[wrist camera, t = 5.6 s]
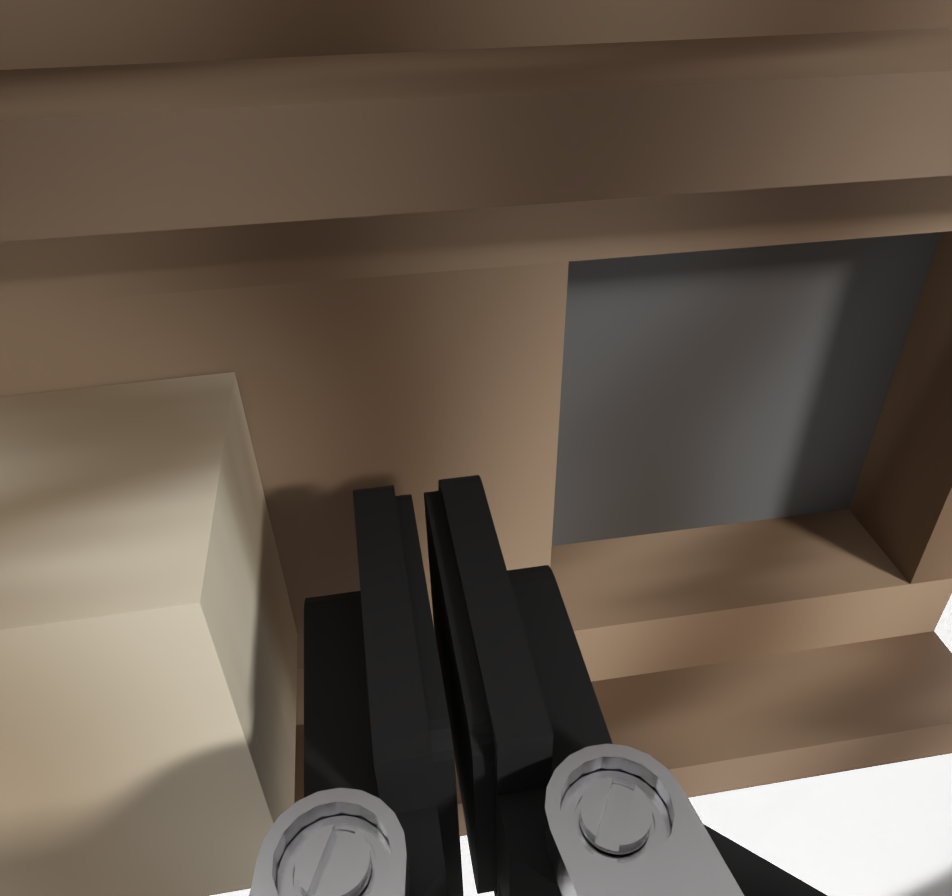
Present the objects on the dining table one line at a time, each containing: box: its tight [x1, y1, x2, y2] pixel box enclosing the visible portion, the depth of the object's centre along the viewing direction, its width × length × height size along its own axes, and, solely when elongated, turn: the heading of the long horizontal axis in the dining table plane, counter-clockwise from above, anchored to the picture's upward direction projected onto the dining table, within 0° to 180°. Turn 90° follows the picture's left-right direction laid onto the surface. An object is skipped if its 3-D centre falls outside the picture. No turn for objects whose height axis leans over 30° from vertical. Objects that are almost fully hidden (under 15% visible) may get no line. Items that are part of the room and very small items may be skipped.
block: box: [0, 372, 298, 896], centre depth 10 cm, size 5×5×4 cm
